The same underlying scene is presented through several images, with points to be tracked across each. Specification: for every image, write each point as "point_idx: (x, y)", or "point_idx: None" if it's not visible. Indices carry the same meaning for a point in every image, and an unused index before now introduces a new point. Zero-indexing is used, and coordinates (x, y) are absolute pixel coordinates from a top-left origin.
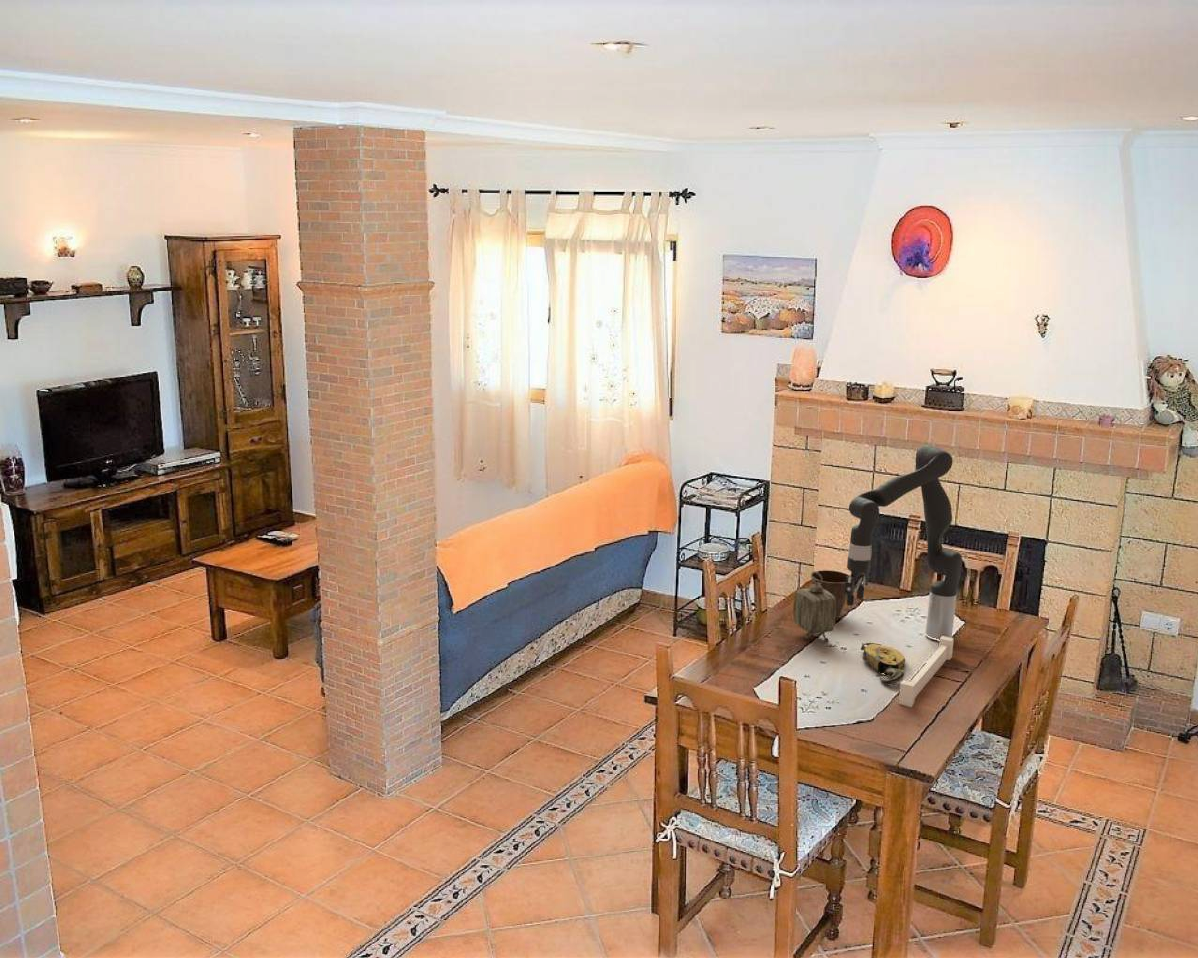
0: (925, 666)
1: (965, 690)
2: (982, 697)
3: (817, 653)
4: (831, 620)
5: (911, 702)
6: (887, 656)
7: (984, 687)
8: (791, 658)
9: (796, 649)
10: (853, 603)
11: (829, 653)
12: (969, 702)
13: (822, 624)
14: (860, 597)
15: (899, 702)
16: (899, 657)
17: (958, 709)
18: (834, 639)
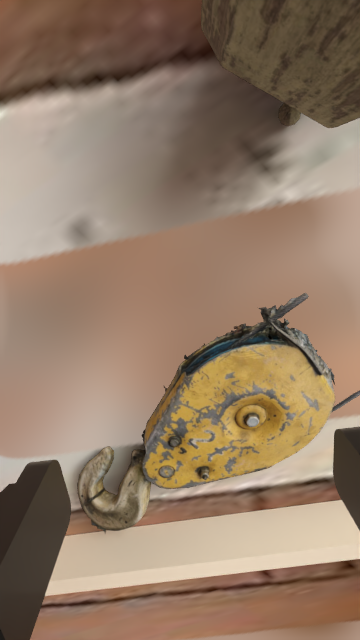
0: (207, 566)
1: (222, 601)
2: (212, 633)
3: (142, 162)
4: (322, 108)
5: None
6: (211, 446)
7: (274, 620)
8: (4, 105)
9: (108, 54)
10: (63, 534)
11: (181, 202)
12: (161, 626)
13: (259, 78)
14: (345, 479)
15: None
16: (256, 460)
17: (105, 623)
18: (348, 124)
